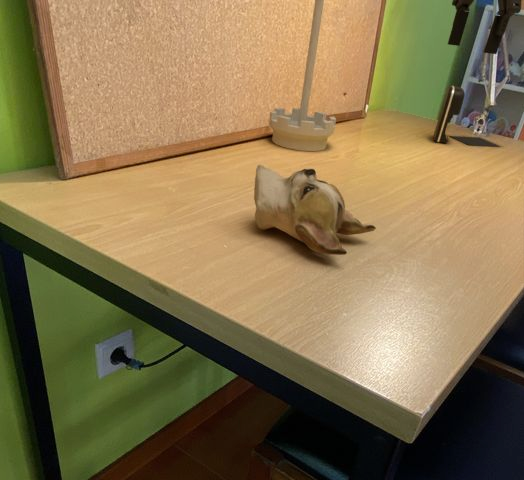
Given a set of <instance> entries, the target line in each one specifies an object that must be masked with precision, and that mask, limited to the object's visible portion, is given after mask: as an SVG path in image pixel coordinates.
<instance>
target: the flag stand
mask: <svg viewBox="0 0 524 480" xmlns="http://www.w3.org/2000/svg"><path fill="white" fill-rule="evenodd" d="M324 2H325V1H324V0H314V6H313V12H312V13H313V14H312V20H311V29H310V35H309V40H308V41H309V42H308V49H307V55H306V65H305V71H304V78H303V86H302V93H301V99H300V107H292V108H291V109H292V111H291V113H286V108H284V107H275V108H273V110H271V109H269V110H270V111H269V118H268V120H269V121H268V125H269V127H270V128H271V129H272V131H273V132H272V138H271V141H272V142H273V143H274V144H275V145H277V146H279V147H282V148H285V149H290V150H295V151H301V152H302V151H303V152H320V151H324V150H325V149H327V144H328V139H329V137H331V136H332V135H333V134H334V133H335V130H336V129H335V127H336V122H337V118H336V117H335V116H328V120H327V115H328V114H327V113H325V112H323V111H318V110H316V111H314V113H313V116H312V115H308V112H309V111H308V110H309V104H310V97H311V92H312V84H313V77H314V70H315V64H316V56H317V49H318V43H319V36H320V29H321V24H322V23H321V22H322V17H323V10H324V4H325V3H324Z"/></svg>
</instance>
